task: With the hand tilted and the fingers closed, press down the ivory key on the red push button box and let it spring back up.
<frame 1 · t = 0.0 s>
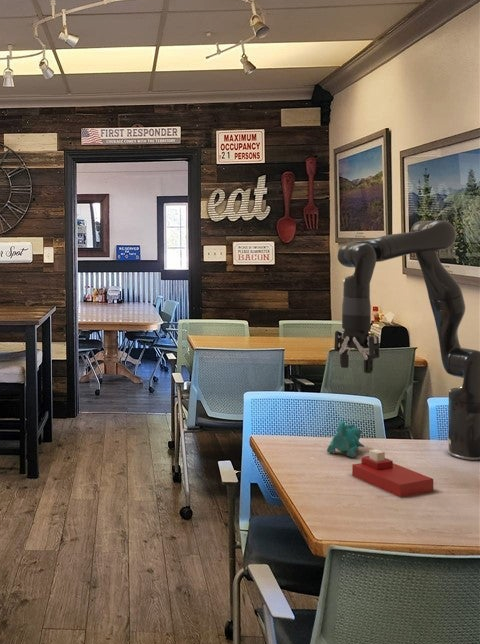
hand: (355, 370, 174), 29 cm above the table, tool pointing down, fingers open, 8 cm apart
toy: (344, 452, 193), on the table
key: (376, 455, 171), point 6 cm above the table, slide at 0.1 cm
red push button box: (391, 483, 167), on the table
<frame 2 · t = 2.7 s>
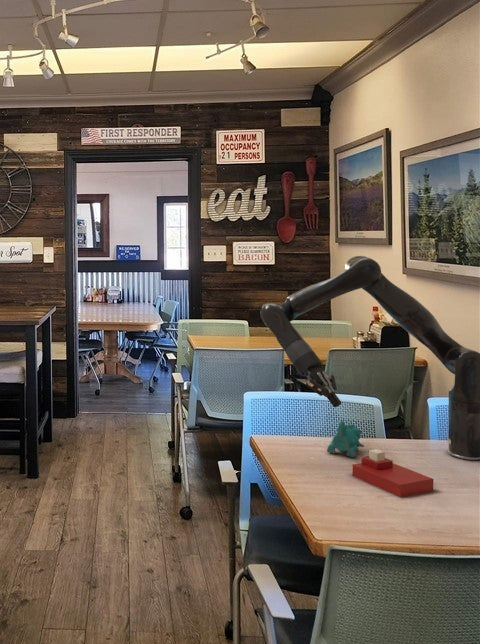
hand: (338, 405, 181), 17 cm above the table, tool tilted 45°, fingers closed
nothing on the table moved.
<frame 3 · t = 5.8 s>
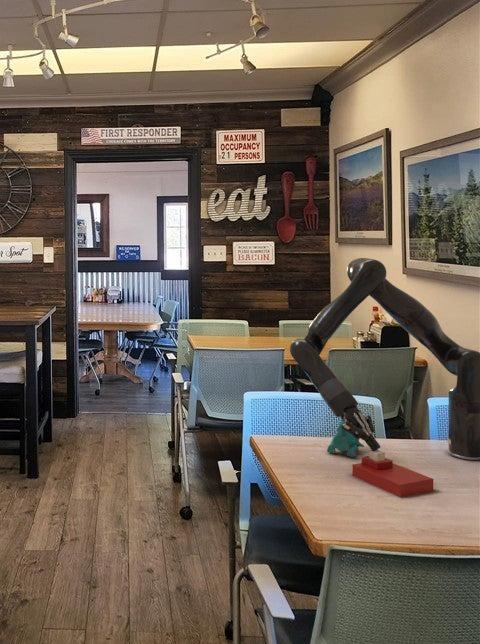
hand: (377, 449, 171), 8 cm above the table, tool tilted 45°, fingers closed
key: (376, 455, 171), point 6 cm above the table, slide at 0.0 cm, touching gripper
everything else where it was.
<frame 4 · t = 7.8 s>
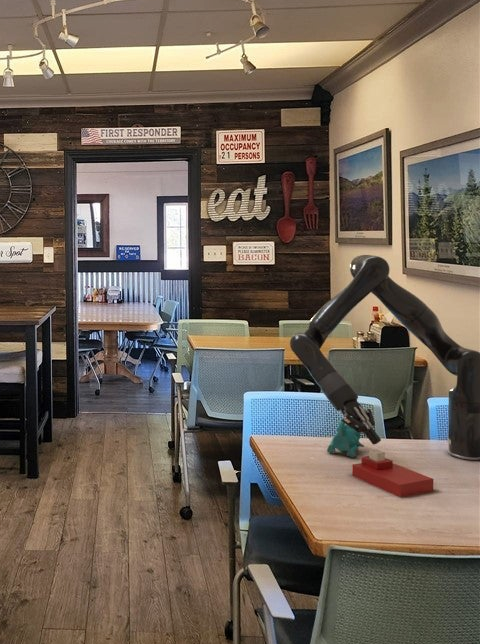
hand: (377, 442, 171), 10 cm above the table, tool tilted 45°, fingers closed
key: (376, 455, 171), point 6 cm above the table, slide at 0.1 cm
everything else where it was.
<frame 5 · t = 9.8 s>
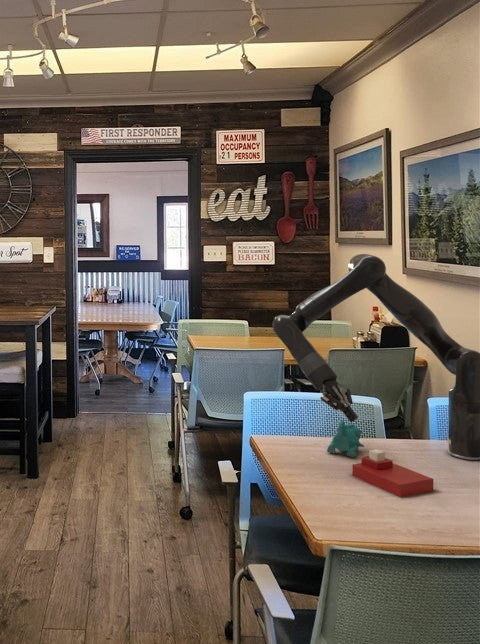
hand: (354, 420, 177), 14 cm above the table, tool tilted 45°, fingers closed
nothing on the table moved.
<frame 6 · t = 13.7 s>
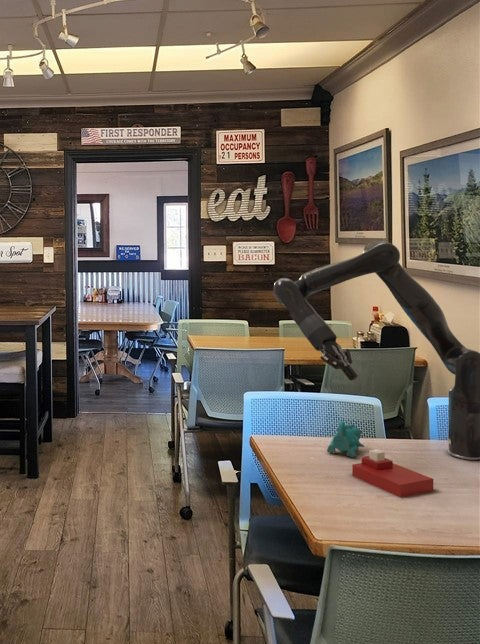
hand: (354, 378, 179), 26 cm above the table, tool tilted 45°, fingers closed
nothing on the table moved.
at the end: key pushed in 1.3 cm at the most during the clip and back out by the end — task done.
